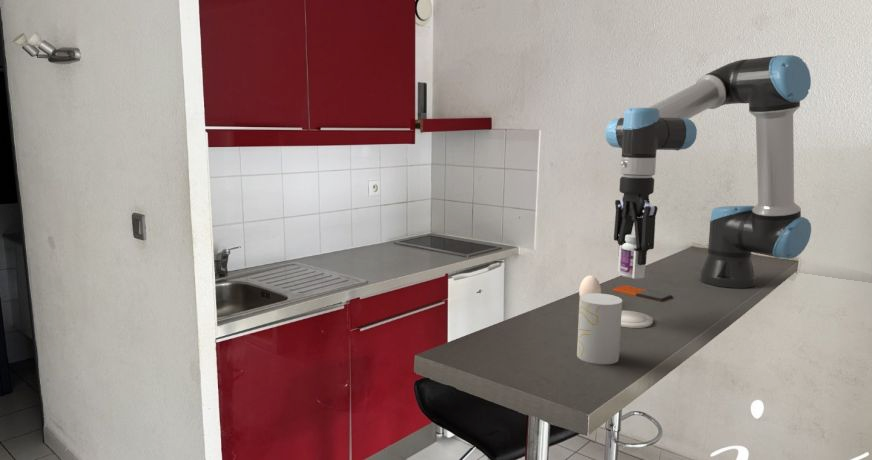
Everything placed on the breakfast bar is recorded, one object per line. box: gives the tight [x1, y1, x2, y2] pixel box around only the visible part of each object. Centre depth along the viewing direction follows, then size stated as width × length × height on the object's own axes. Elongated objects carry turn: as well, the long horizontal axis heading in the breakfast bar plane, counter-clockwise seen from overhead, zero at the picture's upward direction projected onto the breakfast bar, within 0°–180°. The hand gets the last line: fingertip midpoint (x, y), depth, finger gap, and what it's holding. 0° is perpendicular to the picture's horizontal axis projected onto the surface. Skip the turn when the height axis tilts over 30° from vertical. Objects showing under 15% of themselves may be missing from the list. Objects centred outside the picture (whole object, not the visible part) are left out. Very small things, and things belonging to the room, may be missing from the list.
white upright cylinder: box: [576, 292, 623, 365], centre depth 119 cm, size 8×8×12 cm
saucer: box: [621, 310, 654, 329], centre depth 143 cm, size 11×11×1 cm
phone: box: [612, 284, 674, 303], centre depth 166 cm, size 6×1×15 cm
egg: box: [578, 275, 602, 297], centre depth 155 cm, size 6×6×8 cm
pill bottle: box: [619, 233, 636, 279], centre depth 140 cm, size 5×5×10 cm
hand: (630, 274), depth 141 cm, fingers closed on pill bottle, 5 cm apart
